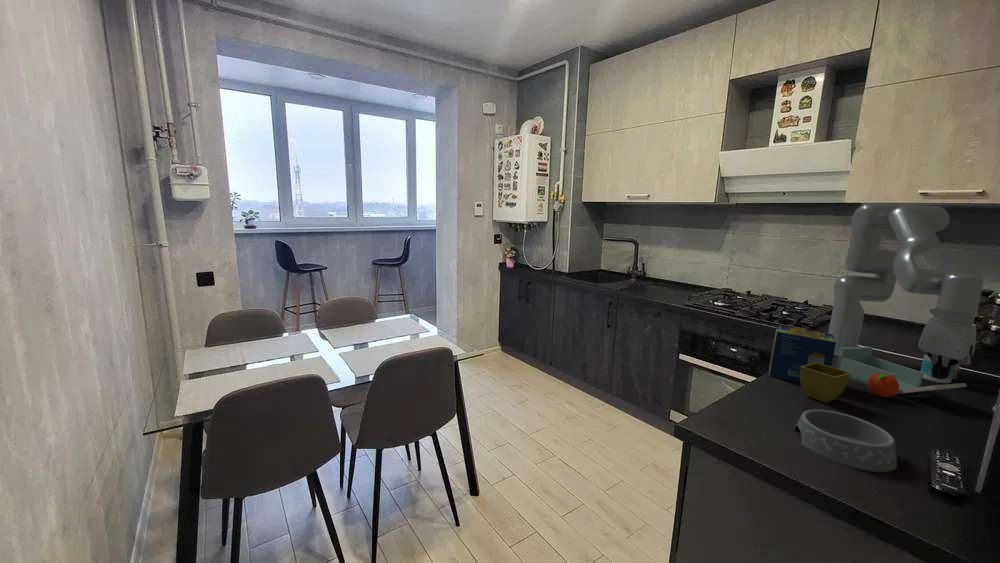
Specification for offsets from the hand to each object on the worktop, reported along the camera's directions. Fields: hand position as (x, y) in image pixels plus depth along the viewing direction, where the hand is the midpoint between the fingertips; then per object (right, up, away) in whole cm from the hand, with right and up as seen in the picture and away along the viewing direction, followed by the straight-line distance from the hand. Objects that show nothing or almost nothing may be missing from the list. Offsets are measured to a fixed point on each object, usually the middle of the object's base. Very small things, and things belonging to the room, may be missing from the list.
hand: (938, 377), depth 117 cm
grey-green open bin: (-4, -5, +15) cm, 16 cm away
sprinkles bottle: (+28, -6, +23) cm, 37 cm away
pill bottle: (+20, -6, +20) cm, 29 cm away
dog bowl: (-50, -10, -26) cm, 57 cm away
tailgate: (-1, -5, +5) cm, 7 cm away
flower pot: (-35, -6, 0) cm, 36 cm away
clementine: (-14, -7, +4) cm, 16 cm away
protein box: (-31, -4, +15) cm, 34 cm away
